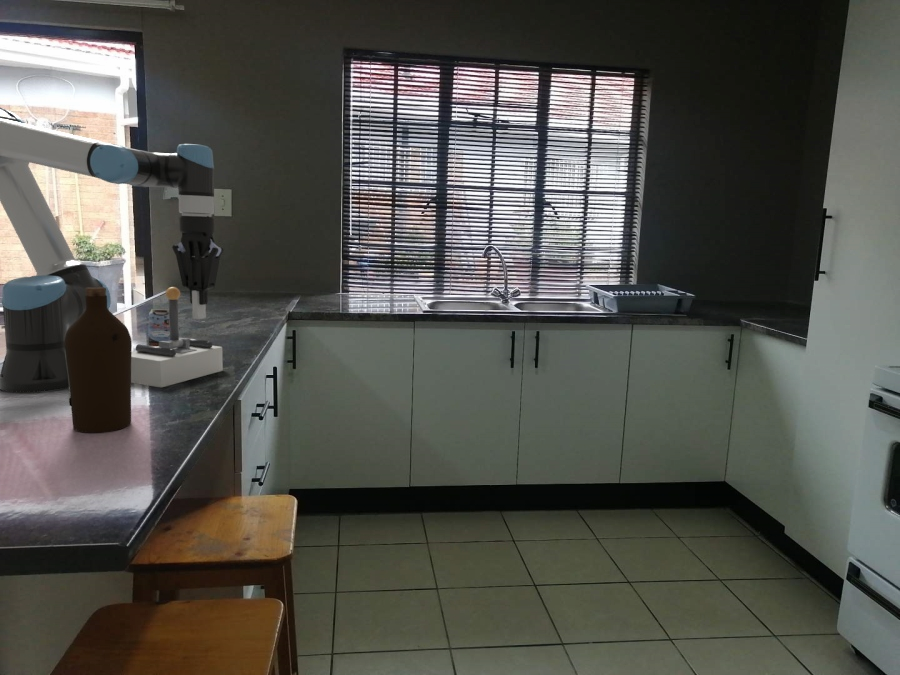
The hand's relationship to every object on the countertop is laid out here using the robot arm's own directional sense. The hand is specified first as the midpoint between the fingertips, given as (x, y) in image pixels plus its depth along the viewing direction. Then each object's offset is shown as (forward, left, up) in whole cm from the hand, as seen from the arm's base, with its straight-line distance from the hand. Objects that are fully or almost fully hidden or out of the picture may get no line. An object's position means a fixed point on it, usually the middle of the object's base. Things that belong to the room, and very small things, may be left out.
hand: (199, 318), depth 158 cm
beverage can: (+27, +25, -15) cm, 40 cm away
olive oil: (-38, -1, -15) cm, 41 cm away
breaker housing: (+2, +7, -14) cm, 16 cm away
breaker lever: (+2, +7, -7) cm, 10 cm away
